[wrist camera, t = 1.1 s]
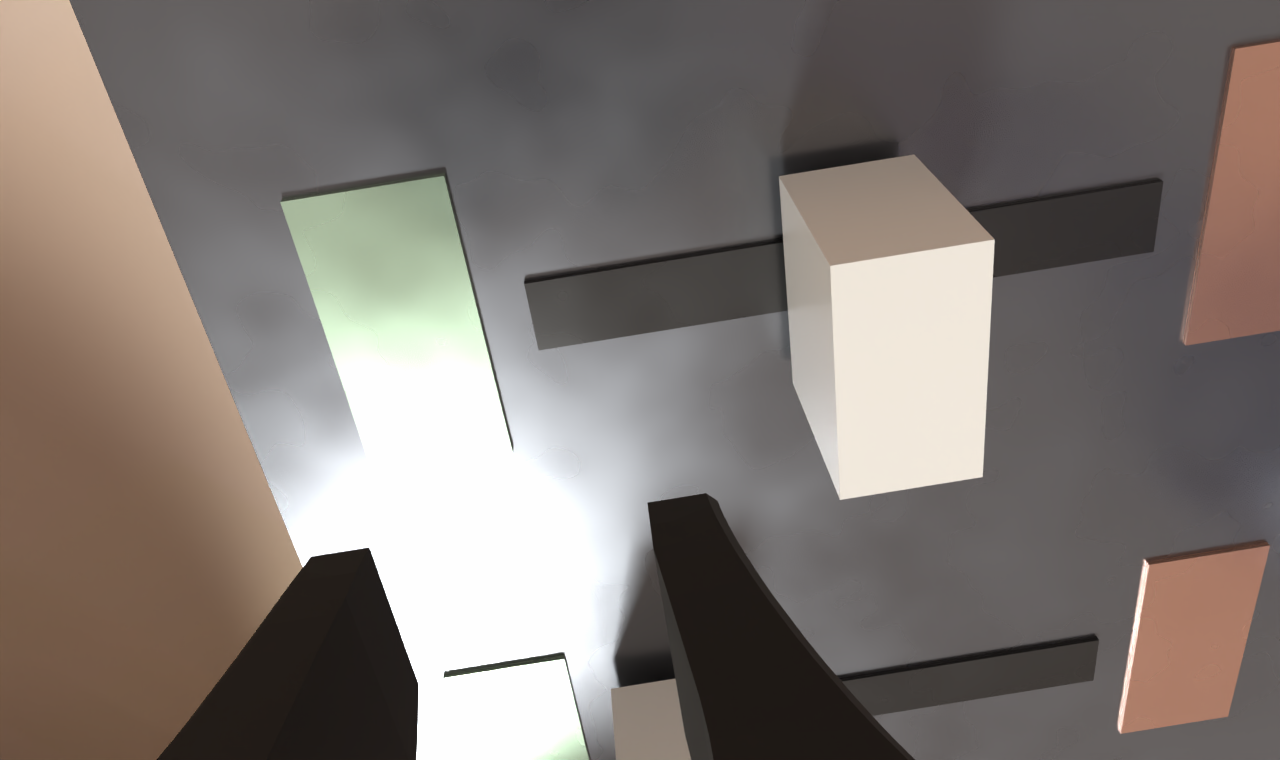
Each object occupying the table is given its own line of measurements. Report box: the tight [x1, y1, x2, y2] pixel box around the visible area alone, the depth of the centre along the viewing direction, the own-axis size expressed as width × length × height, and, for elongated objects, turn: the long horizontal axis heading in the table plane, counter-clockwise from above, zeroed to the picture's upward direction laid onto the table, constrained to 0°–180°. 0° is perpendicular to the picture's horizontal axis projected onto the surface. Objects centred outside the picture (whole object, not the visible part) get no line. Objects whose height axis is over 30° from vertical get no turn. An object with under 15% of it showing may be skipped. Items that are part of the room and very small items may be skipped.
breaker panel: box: [70, 0, 1280, 760], centre depth 20 cm, size 20×24×2 cm
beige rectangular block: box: [779, 155, 995, 500], centre depth 15 cm, size 2×4×3 cm, turn 8°
